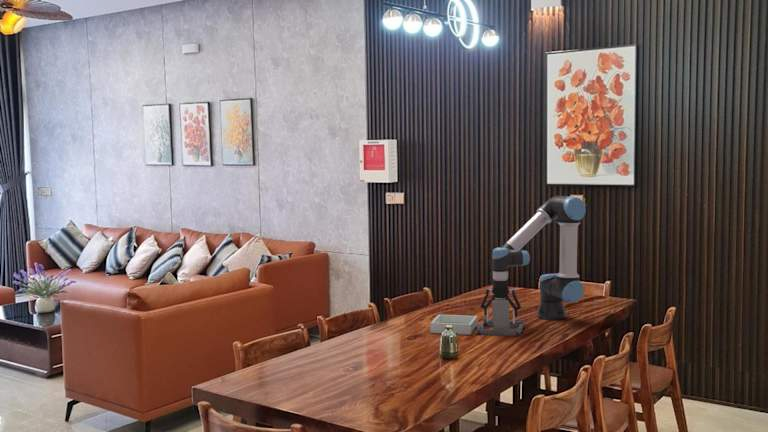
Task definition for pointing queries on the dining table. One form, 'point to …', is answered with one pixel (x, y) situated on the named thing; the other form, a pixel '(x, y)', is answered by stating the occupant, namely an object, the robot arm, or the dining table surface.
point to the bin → (454, 324)
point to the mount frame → (516, 332)
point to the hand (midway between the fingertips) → (500, 322)
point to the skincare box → (500, 314)
